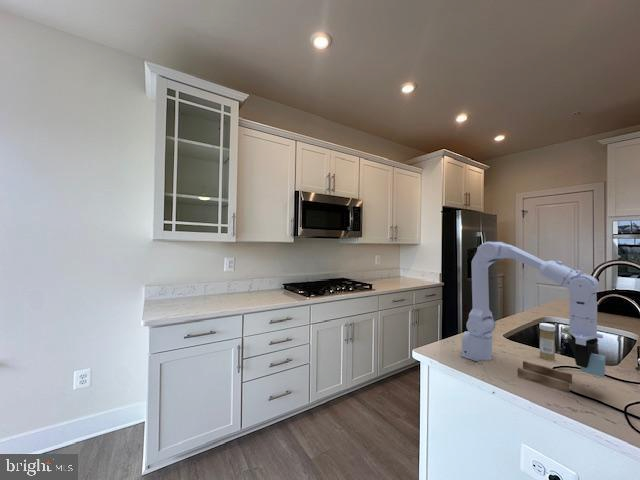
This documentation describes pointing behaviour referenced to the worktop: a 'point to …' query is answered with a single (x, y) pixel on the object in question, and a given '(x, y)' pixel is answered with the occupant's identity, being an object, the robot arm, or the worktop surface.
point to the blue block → (595, 365)
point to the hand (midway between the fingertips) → (582, 363)
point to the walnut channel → (546, 376)
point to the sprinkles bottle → (547, 341)
